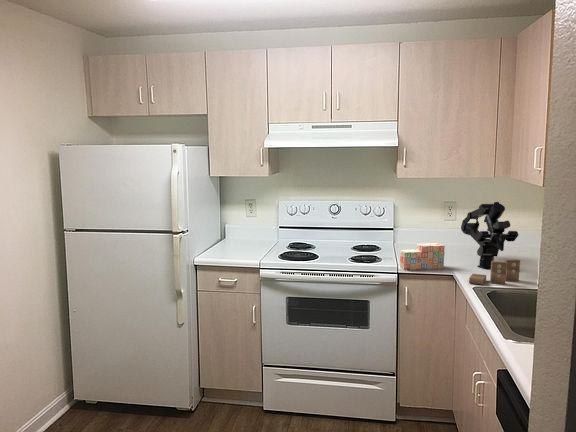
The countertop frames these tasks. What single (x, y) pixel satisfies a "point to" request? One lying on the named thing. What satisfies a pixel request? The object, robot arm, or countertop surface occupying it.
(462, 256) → the countertop surface
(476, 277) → the wooden block
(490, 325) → the countertop surface
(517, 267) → the tile two
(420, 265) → the stack of blocks
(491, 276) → the light brown wooden block
